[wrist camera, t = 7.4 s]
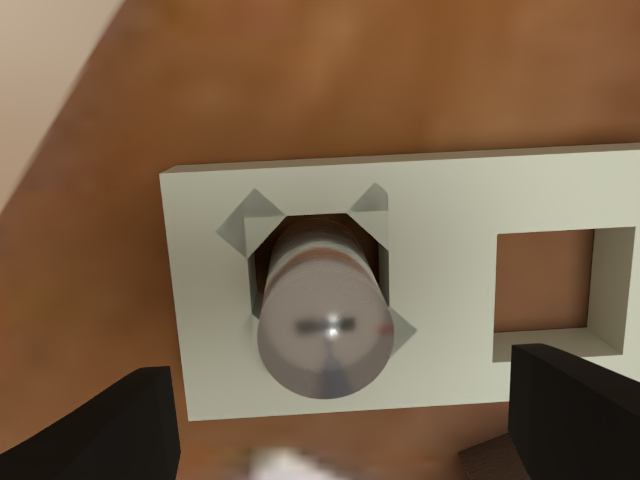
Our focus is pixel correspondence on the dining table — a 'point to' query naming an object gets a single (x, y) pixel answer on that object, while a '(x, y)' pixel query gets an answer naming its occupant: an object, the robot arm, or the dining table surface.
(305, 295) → the cylinder
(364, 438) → the dining table surface
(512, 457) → the square dark bit
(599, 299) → the sage board
